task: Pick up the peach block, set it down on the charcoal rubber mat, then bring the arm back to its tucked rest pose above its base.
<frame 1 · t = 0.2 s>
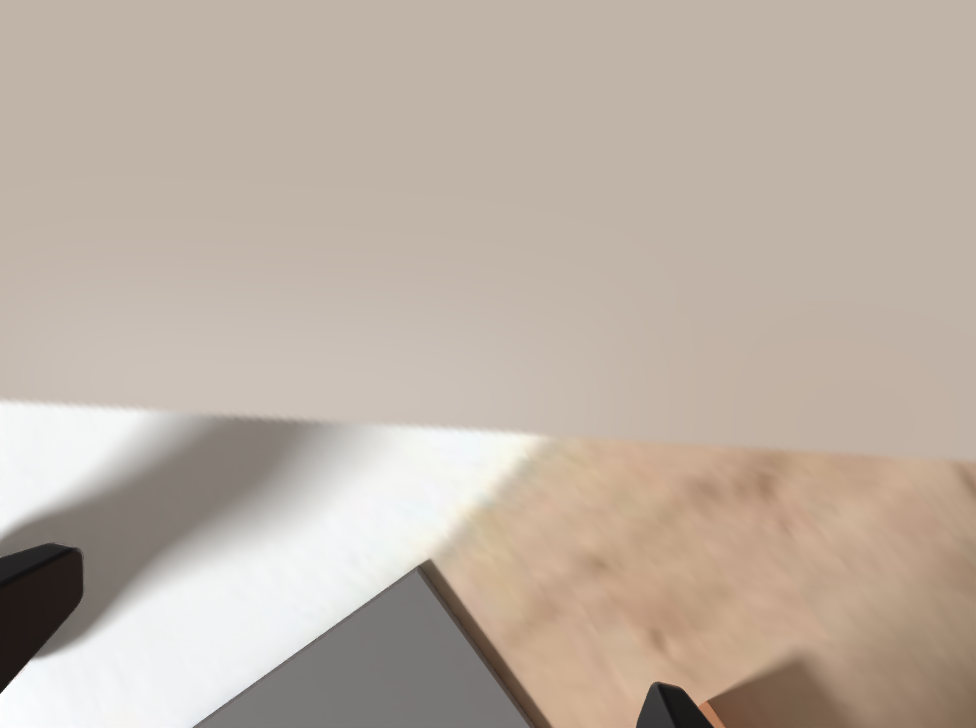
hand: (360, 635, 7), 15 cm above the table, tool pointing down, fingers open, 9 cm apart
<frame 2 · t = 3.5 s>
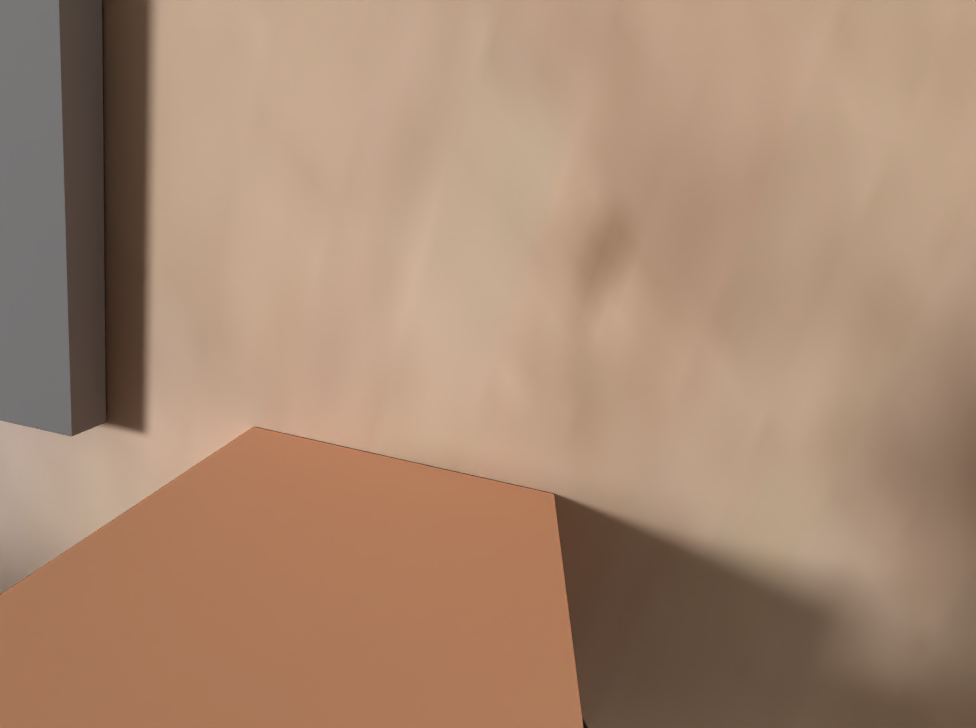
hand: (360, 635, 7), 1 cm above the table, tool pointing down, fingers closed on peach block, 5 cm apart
peach block: (380, 587, 8), on the table, touching gripper
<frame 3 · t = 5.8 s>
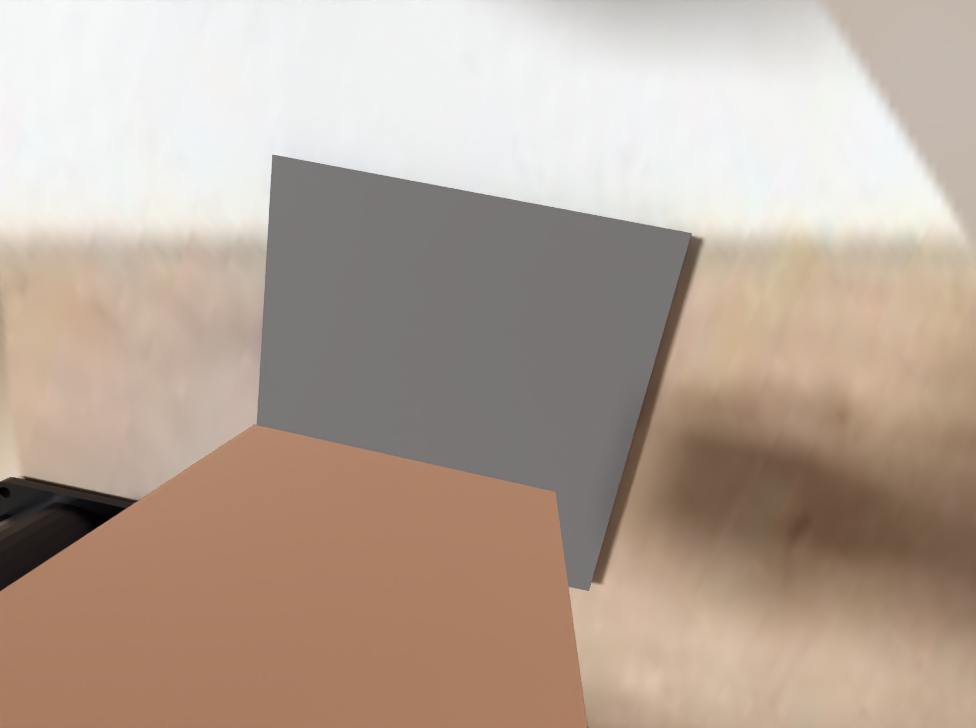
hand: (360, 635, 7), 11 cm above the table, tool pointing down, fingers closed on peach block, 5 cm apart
charcoal mat: (448, 388, 17), on the table
peach block: (381, 585, 8), point 10 cm above the table, touching gripper
when the fingers open (3 cm above the table, at t = 8.2 s): peach block drops 1 cm, resting on charcoal mat.
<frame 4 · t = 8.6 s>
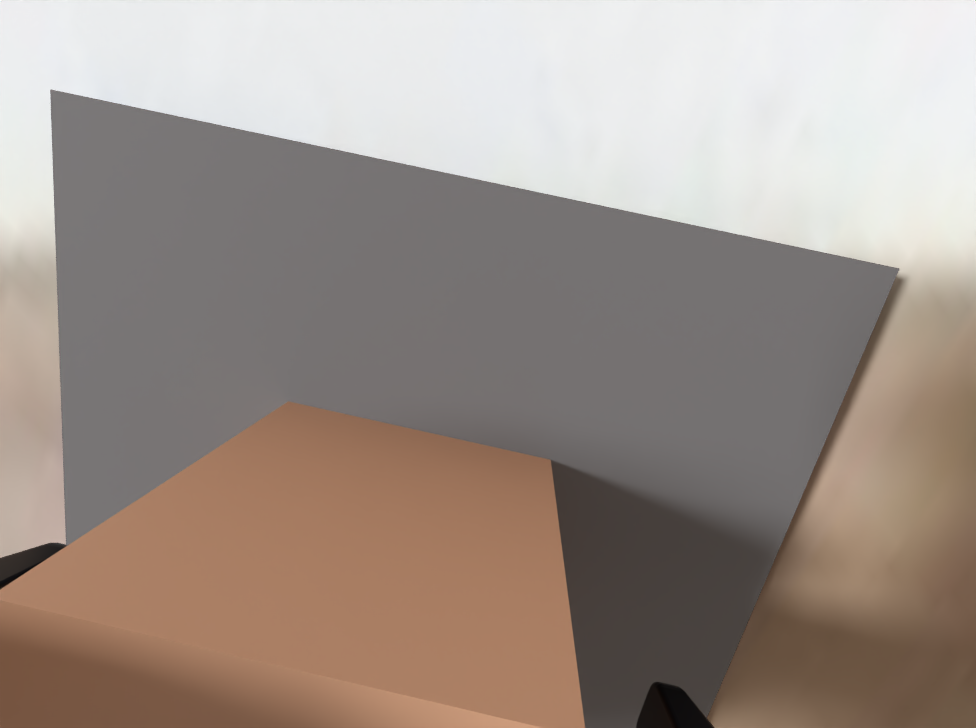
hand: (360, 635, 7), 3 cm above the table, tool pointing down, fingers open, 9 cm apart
charcoal mat: (406, 527, 10), on the table
peach block: (398, 544, 9), point 1 cm above the table, touching charcoal mat
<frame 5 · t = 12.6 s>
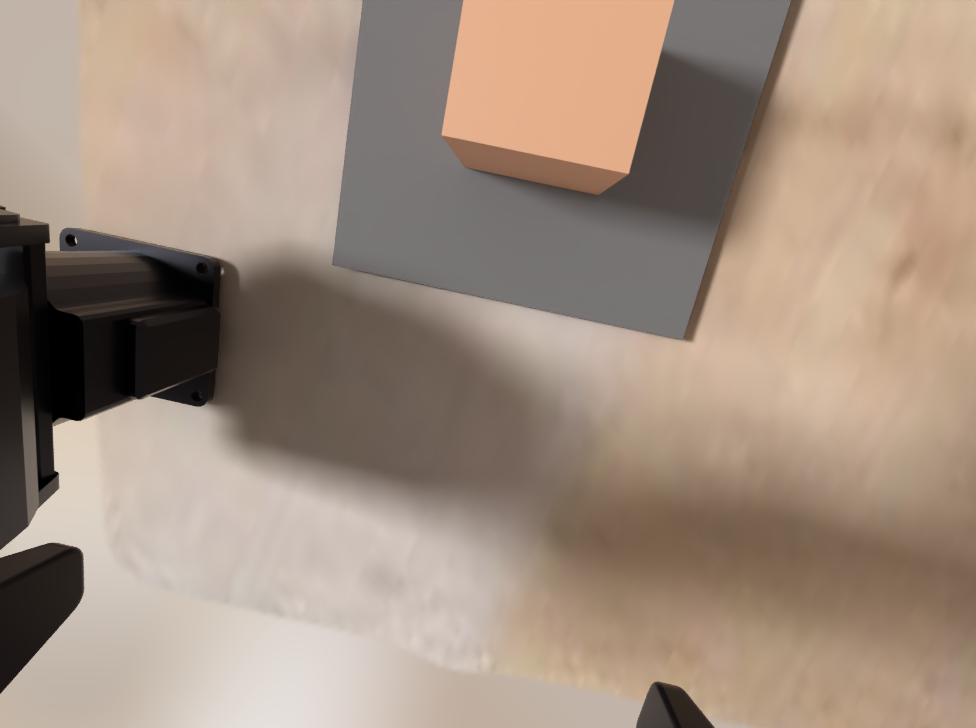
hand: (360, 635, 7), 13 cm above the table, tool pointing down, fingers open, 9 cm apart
charcoal mat: (547, 112, 17), on the table
peach block: (547, 106, 16), point 1 cm above the table, touching charcoal mat
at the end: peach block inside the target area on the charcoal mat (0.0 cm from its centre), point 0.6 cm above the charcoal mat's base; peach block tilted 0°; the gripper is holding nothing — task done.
